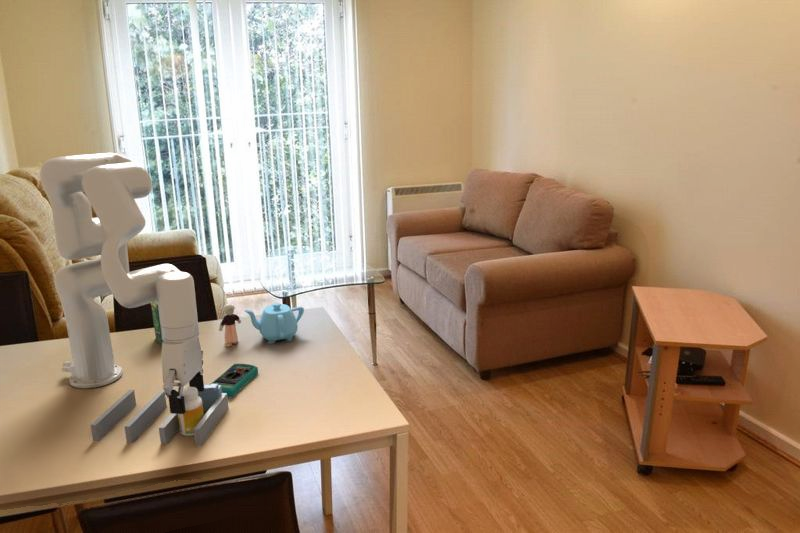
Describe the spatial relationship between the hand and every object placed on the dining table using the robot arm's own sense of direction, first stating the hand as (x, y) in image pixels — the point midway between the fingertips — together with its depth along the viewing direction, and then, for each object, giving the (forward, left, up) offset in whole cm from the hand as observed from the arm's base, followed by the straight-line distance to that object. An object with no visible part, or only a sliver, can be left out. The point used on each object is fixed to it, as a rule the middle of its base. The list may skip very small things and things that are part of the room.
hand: (187, 401), depth 133 cm
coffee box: (-30, +48, -7) cm, 57 cm away
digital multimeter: (+1, +22, -8) cm, 24 cm away
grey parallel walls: (-7, +2, -7) cm, 10 cm away
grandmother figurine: (-8, +48, -7) cm, 49 cm away
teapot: (+4, +53, -7) cm, 53 cm away
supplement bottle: (0, 0, -7) cm, 7 cm away
